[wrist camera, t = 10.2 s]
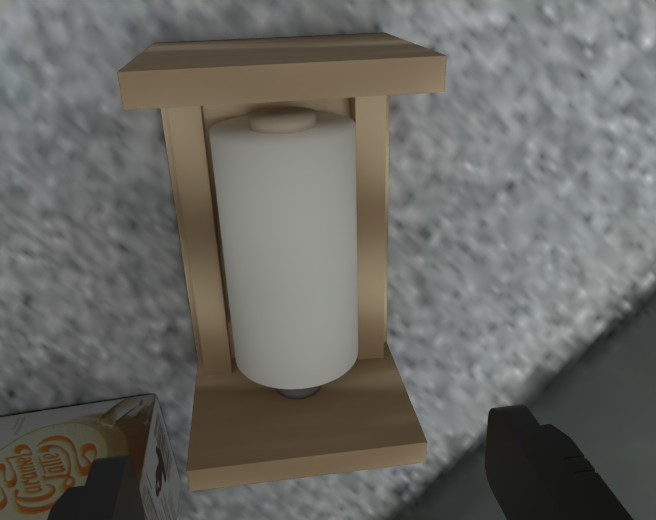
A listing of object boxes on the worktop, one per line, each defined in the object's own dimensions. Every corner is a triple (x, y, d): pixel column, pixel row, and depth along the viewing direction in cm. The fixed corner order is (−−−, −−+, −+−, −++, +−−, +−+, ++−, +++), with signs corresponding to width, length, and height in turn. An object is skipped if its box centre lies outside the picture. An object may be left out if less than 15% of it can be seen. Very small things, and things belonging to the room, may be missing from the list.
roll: (211, 103, 23) (202, 134, 19) (344, 96, 24) (367, 125, 19) (237, 333, 28) (235, 404, 23) (348, 323, 28) (368, 391, 24)
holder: (381, 348, 31) (426, 462, 23) (201, 366, 30) (189, 491, 22) (384, 32, 24) (446, 55, 17) (154, 42, 23) (117, 71, 16)
